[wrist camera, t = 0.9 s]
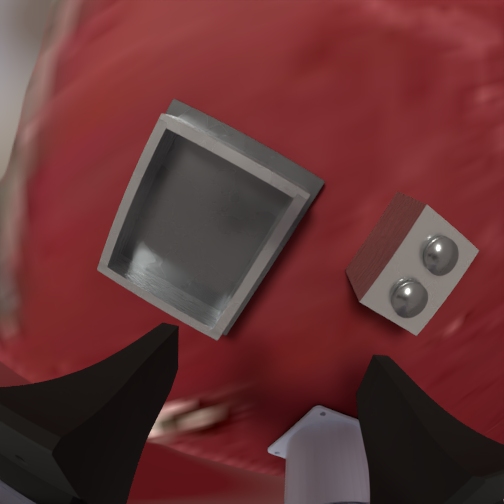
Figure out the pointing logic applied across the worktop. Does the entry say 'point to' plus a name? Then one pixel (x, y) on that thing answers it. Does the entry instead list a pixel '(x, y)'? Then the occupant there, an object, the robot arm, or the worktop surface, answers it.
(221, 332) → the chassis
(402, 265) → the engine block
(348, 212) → the worktop surface
